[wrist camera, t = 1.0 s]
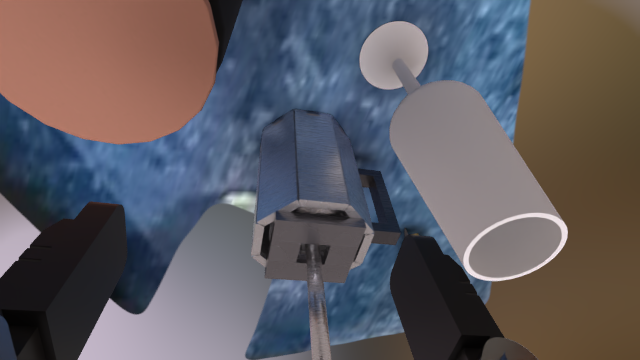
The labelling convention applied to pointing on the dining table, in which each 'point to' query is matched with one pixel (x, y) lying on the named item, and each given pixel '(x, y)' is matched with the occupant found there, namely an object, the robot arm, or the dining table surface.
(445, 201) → the champagne flute
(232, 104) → the dining table surface
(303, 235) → the press pot
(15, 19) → the coffee jar
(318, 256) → the plunger
